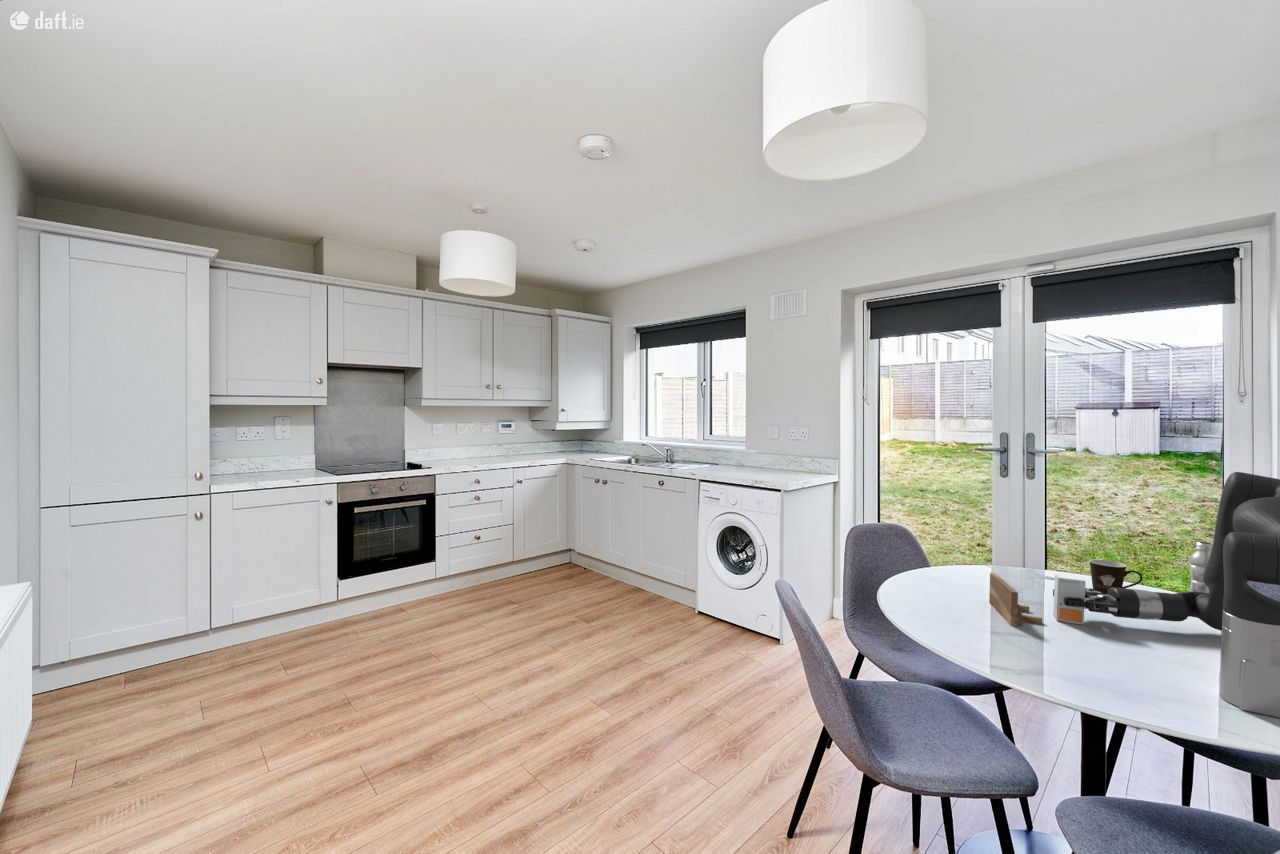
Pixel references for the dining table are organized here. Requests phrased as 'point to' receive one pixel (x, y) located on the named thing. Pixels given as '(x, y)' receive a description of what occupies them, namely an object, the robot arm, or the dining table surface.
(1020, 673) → the dining table surface
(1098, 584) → the coffee mug
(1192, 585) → the plastic bottle
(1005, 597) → the wooden stand
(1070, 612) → the skincare box
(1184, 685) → the dining table surface
